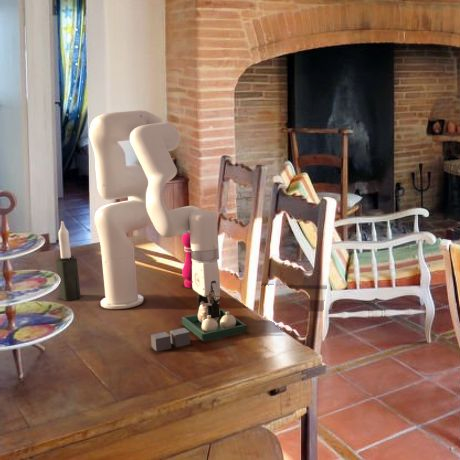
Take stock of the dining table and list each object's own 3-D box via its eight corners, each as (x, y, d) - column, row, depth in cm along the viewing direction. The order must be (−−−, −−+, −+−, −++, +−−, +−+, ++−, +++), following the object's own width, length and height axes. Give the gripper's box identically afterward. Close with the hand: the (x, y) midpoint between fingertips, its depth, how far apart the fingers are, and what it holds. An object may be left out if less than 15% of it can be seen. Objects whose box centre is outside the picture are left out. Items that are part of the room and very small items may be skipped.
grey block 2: (170, 344, 216) (169, 330, 215) (185, 341, 218) (184, 327, 217) (176, 349, 213) (175, 335, 212) (190, 345, 215) (189, 331, 214)
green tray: (182, 325, 230) (181, 317, 229) (223, 317, 237) (223, 308, 237) (203, 343, 217) (203, 334, 216) (247, 333, 224) (246, 324, 224)
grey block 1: (151, 348, 213) (150, 334, 212) (166, 345, 215) (165, 331, 214) (156, 353, 210) (155, 339, 209) (171, 350, 212) (170, 336, 211)
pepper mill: (199, 289, 263) (195, 230, 258) (179, 287, 265) (175, 229, 260) (209, 282, 270) (205, 225, 265) (189, 281, 271) (185, 224, 267)
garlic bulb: (193, 323, 230) (192, 297, 228) (213, 318, 234) (212, 292, 232) (204, 329, 225) (203, 302, 223) (225, 324, 229) (223, 298, 228)
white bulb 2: (218, 328, 226) (217, 311, 225) (232, 325, 228) (231, 308, 227) (224, 333, 223) (223, 315, 221) (239, 330, 225) (238, 312, 224)
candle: (72, 294, 258) (65, 218, 252) (82, 297, 255) (74, 220, 249) (58, 298, 254) (49, 221, 248) (67, 301, 251) (59, 223, 245)
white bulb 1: (199, 332, 223) (198, 315, 222) (214, 329, 225) (213, 311, 224) (205, 337, 219) (204, 319, 218) (220, 334, 222) (219, 316, 221)
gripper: (181, 249, 230) (185, 308, 234) (204, 263, 216) (207, 325, 220) (206, 245, 234) (209, 303, 238) (230, 259, 220) (233, 320, 224)
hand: (208, 313), depth 229 cm, fingers closed on garlic bulb, 6 cm apart
